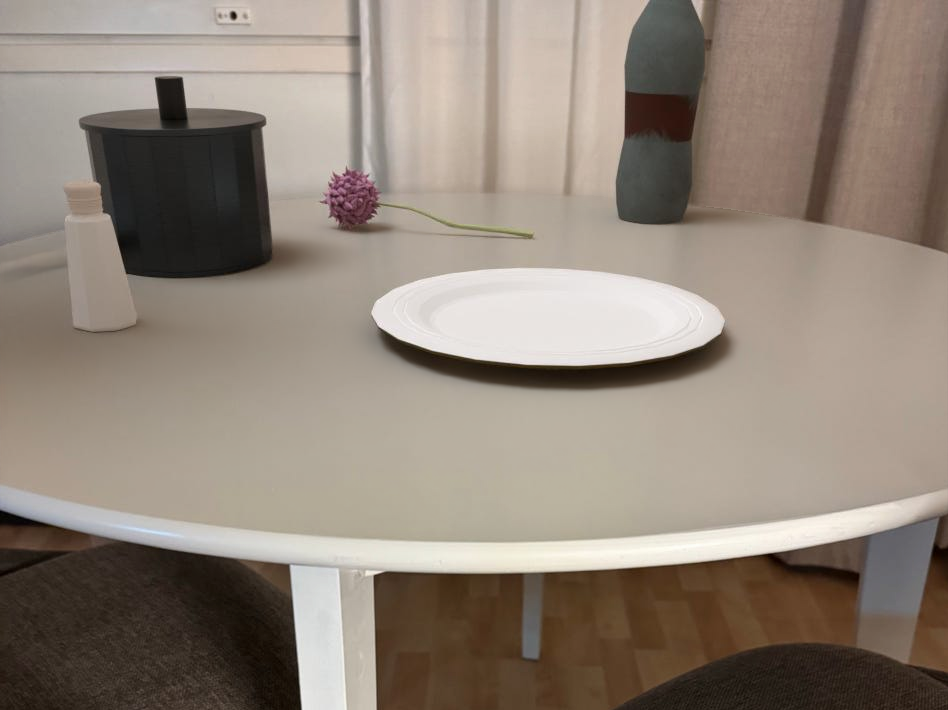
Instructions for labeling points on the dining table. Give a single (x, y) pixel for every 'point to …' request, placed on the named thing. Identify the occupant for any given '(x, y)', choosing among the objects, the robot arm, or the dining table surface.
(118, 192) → the trash can
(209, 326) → the dining table surface
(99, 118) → the bin lid
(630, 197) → the bottle
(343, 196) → the artificial flower
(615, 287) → the plate
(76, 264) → the salt shaker
